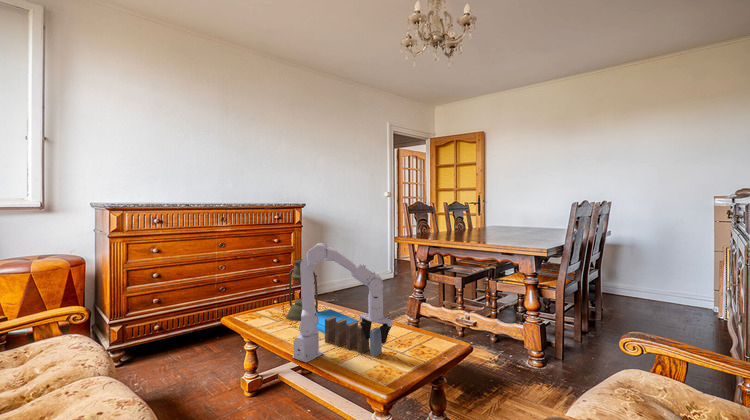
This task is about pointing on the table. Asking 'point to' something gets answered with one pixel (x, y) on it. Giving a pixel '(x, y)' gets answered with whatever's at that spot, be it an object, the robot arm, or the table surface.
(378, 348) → the domino
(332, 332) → the domino
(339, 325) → the domino
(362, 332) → the domino
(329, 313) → the book
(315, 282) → the lantern
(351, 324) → the domino
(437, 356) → the table surface
